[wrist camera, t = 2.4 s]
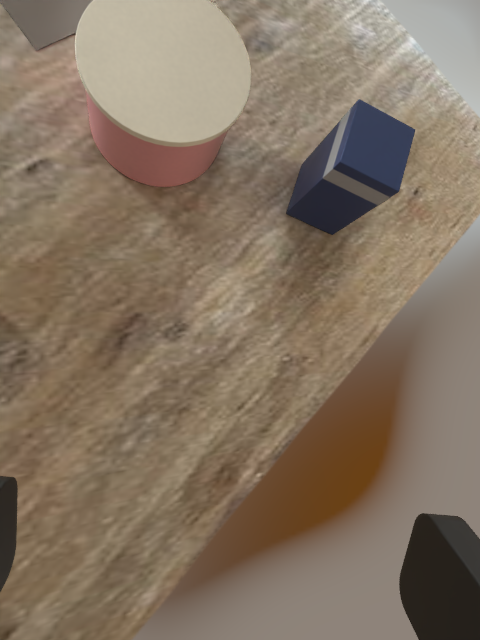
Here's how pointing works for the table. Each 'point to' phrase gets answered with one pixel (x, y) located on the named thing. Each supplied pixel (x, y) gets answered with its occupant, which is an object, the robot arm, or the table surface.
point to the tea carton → (352, 169)
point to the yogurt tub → (161, 85)
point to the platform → (46, 18)
